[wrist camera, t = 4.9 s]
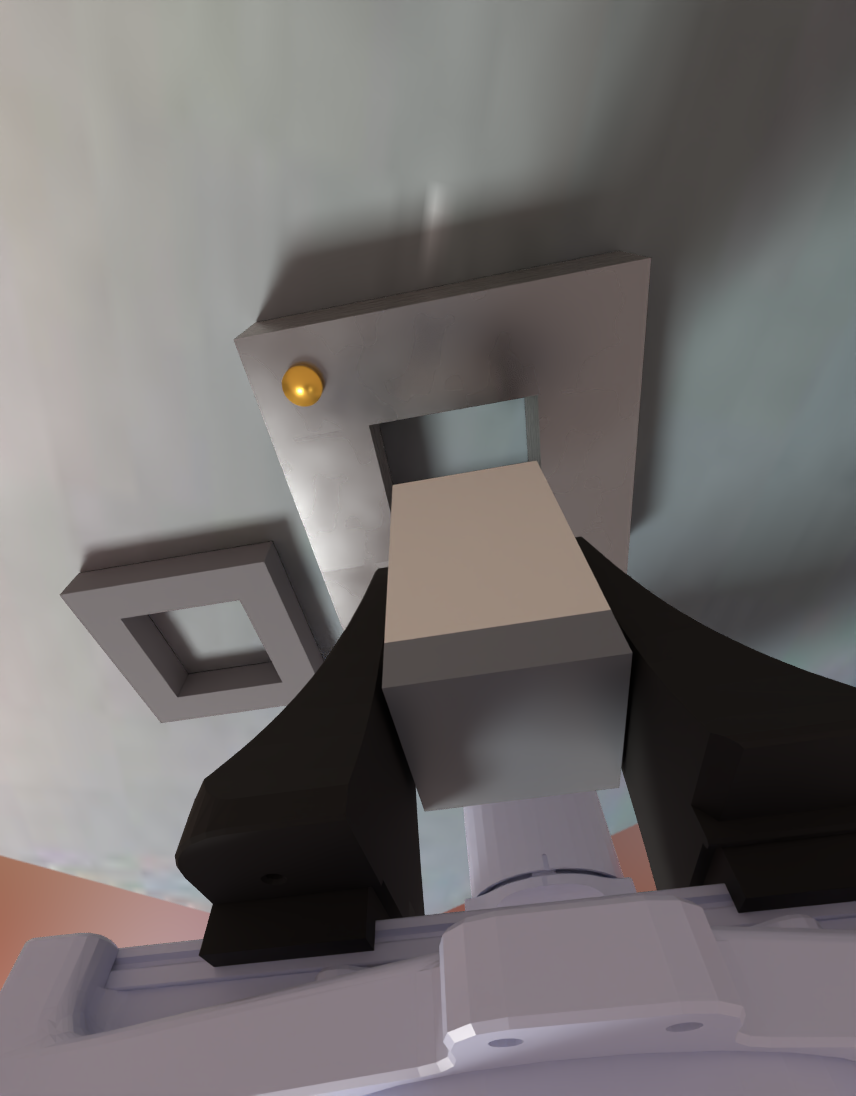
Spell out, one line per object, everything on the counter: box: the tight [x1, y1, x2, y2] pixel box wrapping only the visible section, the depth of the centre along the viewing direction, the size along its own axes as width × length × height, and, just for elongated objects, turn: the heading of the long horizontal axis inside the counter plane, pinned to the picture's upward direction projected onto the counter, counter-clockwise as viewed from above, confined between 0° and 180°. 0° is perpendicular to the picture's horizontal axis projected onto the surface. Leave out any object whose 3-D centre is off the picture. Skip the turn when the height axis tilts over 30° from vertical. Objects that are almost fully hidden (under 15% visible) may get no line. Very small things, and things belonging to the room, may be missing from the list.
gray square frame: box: [60, 541, 324, 723], centre depth 24 cm, size 9×9×2 cm
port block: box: [234, 251, 651, 631], centre depth 18 cm, size 12×12×3 cm
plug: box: [382, 461, 632, 811], centre depth 12 cm, size 4×4×7 cm
